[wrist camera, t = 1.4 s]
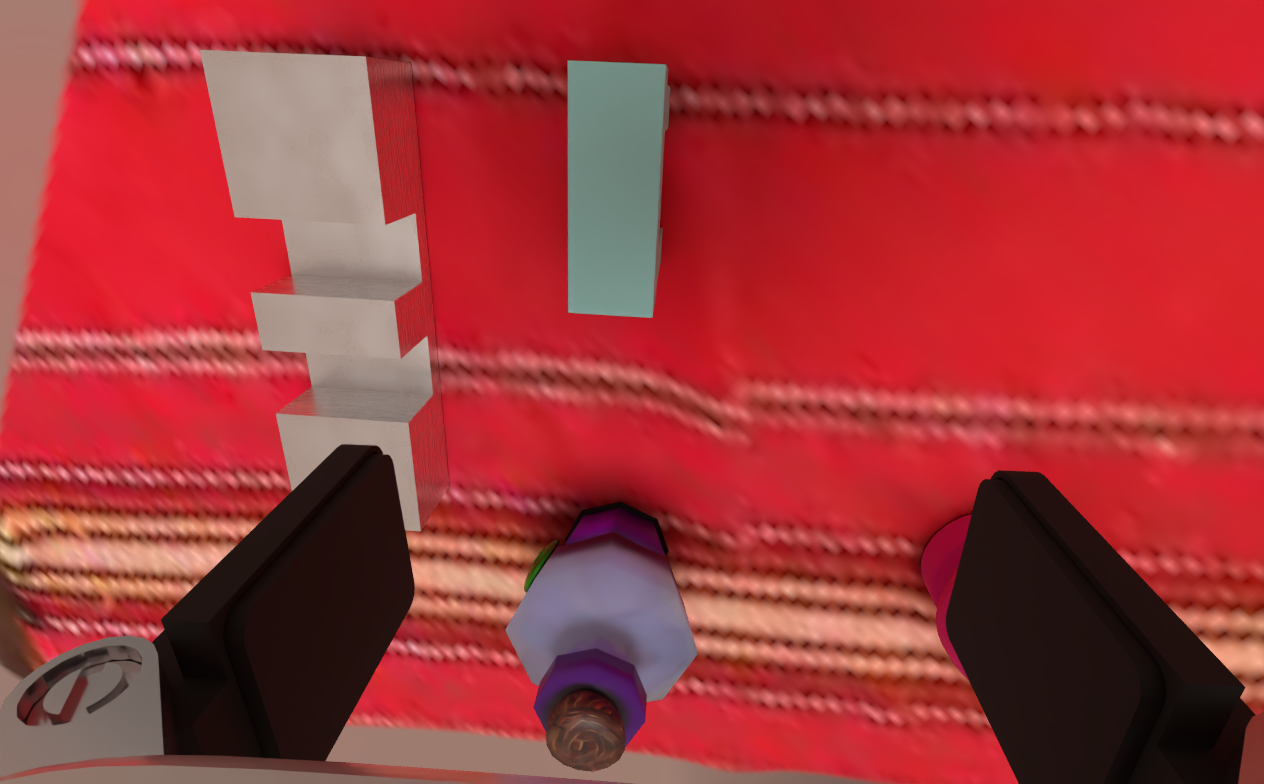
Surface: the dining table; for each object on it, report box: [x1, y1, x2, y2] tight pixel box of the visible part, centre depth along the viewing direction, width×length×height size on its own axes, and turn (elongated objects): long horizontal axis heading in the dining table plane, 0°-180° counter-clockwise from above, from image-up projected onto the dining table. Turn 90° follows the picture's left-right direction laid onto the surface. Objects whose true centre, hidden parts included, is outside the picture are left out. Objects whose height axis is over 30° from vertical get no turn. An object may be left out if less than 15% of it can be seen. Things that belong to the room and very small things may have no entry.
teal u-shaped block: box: [568, 61, 671, 318], centre depth 24 cm, size 8×3×6 cm, turn 178°
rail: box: [200, 50, 449, 531], centre depth 29 cm, size 20×6×4 cm, turn 178°
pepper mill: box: [921, 514, 972, 680], centre depth 24 cm, size 7×7×20 cm
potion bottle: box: [505, 502, 698, 771], centre depth 30 cm, size 9×9×12 cm
